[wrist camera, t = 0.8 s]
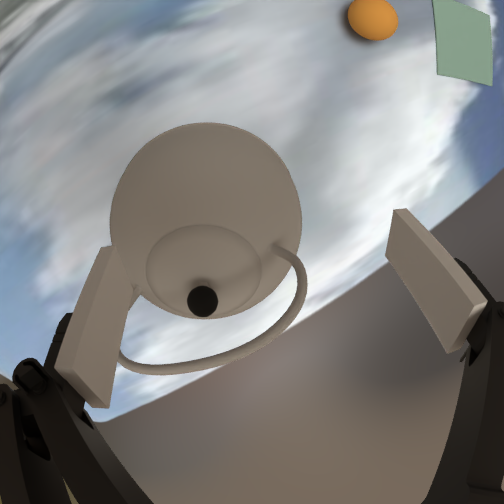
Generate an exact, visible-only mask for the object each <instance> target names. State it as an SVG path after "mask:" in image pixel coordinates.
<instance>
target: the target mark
mask: <svg viewBox="0 0 504 504" xmlns="http://www.w3.org/2000/svg"><path fill="white" fill-rule="evenodd" d="M432 4H433V13H434V23H435V35H436V53H437V74H438V75H444V76H449V77H454V78H459V79H464V80H469V81H473V82H477V83H481V84H485V85H489V86H492V39H491V26H490V16H489V15H487V14H485V13H483V12H481V11H478V10H476V9H474V8H471V7H469V6H466V5H464V4H461V3H458V2H456V1H453V0H432Z"/></svg>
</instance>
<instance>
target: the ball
mask: <svg viewBox="0 0 504 504" xmlns="http://www.w3.org/2000/svg"><path fill="white" fill-rule="evenodd" d="M348 20H349V23H350V25H351V27H352V28H353V29H354V30H355V31H356V32H357V33H358V34H359V35H361V36H362V37H364V38H367V39H370V40H384V39H387V38H389V37H391V36H392V35H393V34H394V33H395V31H396V29H397V26H398V17H397V14H396V12H395V10H394V8H393V7H392V6H391V5H390V4H389V3H388V2H387V1H385V0H354V1H353V2H352V3H351V5H350V7H349V9H348Z"/></svg>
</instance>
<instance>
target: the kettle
mask: <svg viewBox="0 0 504 504" xmlns="http://www.w3.org/2000/svg"><path fill="white" fill-rule="evenodd" d="M301 231H302V213H301V206H300V201H299V197H298V193H297V190H296V188H295V185H294V183H293V180H292V178H291V175H290V173H289V171H288V169H287V167H286V166H285V164H284V162H283V161H282V159H281V158H280V157H279V155H278V154H277V153H276V152H275V151H274V150H273V149H272V148H271V147H270V146H269V145H268V144H267V143H265V142H264V141H263V140H261V139H260V138H258V137H257V136H255V135H253V134H251V133H250V132H247V131H245V130H243V129H240V128H237V127H234V126H230V125H226V124H220V123H193V124H187V125H183V126H179V127H176V128H173V129H171V130H168V131H166V132H164V133H162V134H160V135H158V136H157V137H155V138H154V139H152V140H151V141H149V142H148V143H147V144H146V145H145V146H144V147H142V148H141V149H140V150H139V152H138V153H137V154H136V155H135V156H134V157H133V159H132V160H131V162H130V163H129V165H128V166H127V168H126V170H125V172H124V174H123V175H122V177H121V179H120V181H119V183H118V186H117V188H116V191H115V194H114V197H113V201H112V206H111V212H110V235H111V242H112V246H114V245H115V246H116V248H117V251H118V253H119V256H120V258H121V261H122V263H123V266H124V268H125V271H126V273H127V276H128V278H129V281H130V283H131V285H132V288H133V293H132V297H131V301H130V305H129V309H128V311H129V310H130V308H131V307H132V305H133V304H134V302H135V301H136V300H137V298H138V297H139V295H140V294H141V295H142V296H143V297H144V298H146V299H147V300H148V301H150V302H151V303H153V304H154V305H156V306H157V307H159V308H161V309H163V310H165V311H167V312H170V313H172V314H175V315H179V316H182V317H187V318H193V319H217V318H223V317H228V316H232V315H235V314H238V313H241V312H243V311H245V310H247V309H249V308H251V307H253V306H255V305H256V304H258V303H259V302H261V301H262V300H264V299H265V298H266V297H267V296H268V295H270V294H271V293H272V292H273V291H274V290H275V289H276V288H277V287H278V285H279V284H280V283H281V282H282V280H283V279H284V278H285V276H286V275H287V273H288V271H289V270H290V268H291V266H293V267H294V269H295V271H296V275H297V291H296V294H295V297H294V299H293V301H292V303H291V305H290V307H289V308H288V309H287V311H286V312H285V313H284V314H283V316H282V317H281V318H280V319H279V320H278V321H277V322H276V323H275V324H274V325H273V326H272V327H270V328H269V329H268V330H266V331H265V332H264V333H262V334H261V335H259V336H258V337H256V338H255V339H253V340H251V341H249V342H247V343H245V344H243V345H241V346H239V347H237V348H234V349H232V350H229V351H226V352H223V353H220V354H217V355H214V356H210V357H206V358H202V359H197V360H192V361H187V362H180V363H174V364H162V365H150V364H141V363H137V362H134V361H132V360H129V359H128V358H126V357H125V356H124V355H123V354H122V352H121V350H119V355H118V360H117V361H118V363H120V364H121V365H122V366H123V367H125V368H127V369H129V370H131V371H133V372H137V373H140V374H147V375H174V374H182V373H189V372H195V371H200V370H205V369H209V368H213V367H217V366H221V365H224V364H227V363H230V362H233V361H236V360H238V359H241V358H243V357H246V356H248V355H250V354H252V353H254V352H256V351H258V350H259V349H261V348H262V347H264V346H266V345H267V344H269V343H270V342H271V341H273V340H274V339H275V338H277V337H278V336H279V335H280V334H281V333H282V332H283V331H284V330H285V329H286V328H287V327H288V326H289V325H290V324H291V323H292V322H293V320H294V319H295V318H296V316H297V315H298V313H299V312H300V310H301V308H302V306H303V303H304V301H305V297H306V294H307V275H306V271H305V268H304V266H303V263H302V262H301V261H300V259H299V258H298V257H297V256H296V254H297V251H298V248H299V244H300V238H301Z"/></svg>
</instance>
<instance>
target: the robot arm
mask: <svg viewBox="0 0 504 504" xmlns="http://www.w3.org/2000/svg"><path fill="white" fill-rule="evenodd" d="M385 256H386V258H387V259H388V260H389V262H390V263H391V264H392V266H393V268H394V269H395V270H396V272H397V273H398V275H399V276H400V278H401V279H402V281H403V282H404V284H405V285H406V287H407V288H408V290H409V291H410V293H411V295H412V296H413V297H414V299H415V301H416V302H417V304H418V306H419V307H420V309H421V310H422V312H423V314H424V315H425V317H426V318H427V320H428V322H429V323H430V325H431V327H432V328H433V330H434V332H435V333H436V335H437V337H438V339H439V340H440V342H441V344H442V346H443V347H444V349H445V350H446V353H447V354H448V353H451V352H453V351H455V350H458V349H460V348H461V347H462V345H463V344H464V342H465V340H466V339H467V341H468V342H469V344H470V345H469V346H468V348H467V350H466V351H465V353H464V354H463V356H462V357H461V359H460V362H462V361H463V360H464V358H465V357H466V359H465V366H464V372H463V377H462V383H461V388H460V393H459V397H458V401H457V406H456V410H455V414H454V418H453V422H452V426H451V429H450V433H449V436H448V440H447V442H446V446H445V449H444V452H443V455H442V458H441V461H440V464H439V466H438V469H437V472H436V474H435V477H434V480H433V482H432V485H431V487H430V490H429V492H428V494H427V497H426V498H425V500H424V501H423V502H422V503H421V504H504V491H502V489H501V484H502V480H503V476H504V302H496V301H495V300H494V298H493V297H492V296H491V294H490V293H489V292H488V291H487V289H486V288H485V287H484V286H483V284H482V283H481V282H480V281H479V280H478V279H477V277H476V276H475V275H474V274H472V271H471V270H470V269H469V268H468V266H467V265H466V264H465V263H463V262H462V261H460V260H459V259H457V258H452V257H451V255H450V254H449V253H448V252H447V251H446V250H445V249H444V247H442V245H441V244H440V243H439V242H438V241H437V240H436V239H435V238H434V236H433V235H432V234H431V233H430V232H429V231H428V230H427V229H426V228H425V227H424V226H423V225H422V224H421V223H420V222H419V221H418V220H417V219H416V218H415V217H414V216H413V215H412V214H411V213H410V212H409V211H408V210H407V209H406V208H405V209H395V210H393V216H392V222H391V227H390V233H389V238H388V243H387V248H386V253H385ZM132 293H133V288H132V285H131V283H130V281H129V278H128V276H127V273H126V271H125V268H124V266H123V263H122V261H121V258H120V256H119V253H118V251H117V248H116V246H115V245H114V246H107V247H101V249H100V251H99V253H98V255H97V257H96V260H95V262H94V264H93V266H92V268H91V271H90V273H89V275H88V277H87V280H86V282H85V284H84V287H83V289H82V292H81V294H80V296H79V299H78V301H77V304H76V306H75V309H74V312H73V313H66V314H65V316H64V317H63V318H62V320H61V321H60V322H59V324H58V327H57V329H56V332H55V333H56V335H54V337H53V340H52V341H53V343H51V346H50V348H49V351H48V354H47V357H46V360H45V363H44V366H42V365H41V364H40V363H39V362H38V361H37V360H36V359H34V358H27V359H25V360H22V361H21V362H20V363H19V364H18V365H17V366H16V368H15V370H14V372H13V376H12V379H13V383H14V384H15V385H16V386H17V387H18V388H19V389H17V390H14V391H13V390H12V389H11V388H10V387H9V386H8V385H6V384H0V496H1V500H2V504H72V503H71V501H70V498H69V495H68V492H67V489H66V486H65V483H64V480H65V482H66V484H67V485H68V487H69V489H70V490H71V492H72V494H73V495H74V497H75V499H76V500H77V502H78V503H79V504H154V503H153V502H152V501H151V500H150V499H149V498H148V496H147V495H146V494H145V493H144V492H143V491H142V489H141V488H140V487H139V486H138V485H137V483H136V482H135V481H134V479H133V478H132V477H131V476H130V474H129V473H128V472H127V471H126V469H125V468H124V467H123V465H122V464H121V462H120V461H119V460H118V459H117V457H116V456H115V454H114V453H113V451H112V450H111V448H110V447H109V446H108V444H107V443H106V441H105V440H104V438H103V437H102V435H101V434H100V432H99V431H98V429H97V427H96V426H95V424H94V423H93V421H92V419H91V418H90V416H89V414H88V413H87V411H86V410H85V409H84V404H85V401H86V402H87V403H88V404H89V405H90V406H91V407H92V408H109V407H110V400H111V394H112V388H113V382H114V376H115V371H116V365H117V360H118V355H119V350H120V345H121V340H122V336H123V331H124V327H125V322H126V318H127V314H128V309H129V305H130V301H131V297H132ZM62 476H63V477H62ZM63 478H64V480H63Z"/></svg>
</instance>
